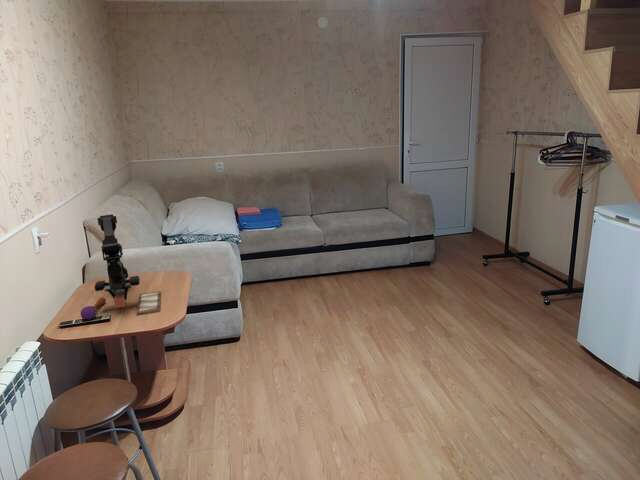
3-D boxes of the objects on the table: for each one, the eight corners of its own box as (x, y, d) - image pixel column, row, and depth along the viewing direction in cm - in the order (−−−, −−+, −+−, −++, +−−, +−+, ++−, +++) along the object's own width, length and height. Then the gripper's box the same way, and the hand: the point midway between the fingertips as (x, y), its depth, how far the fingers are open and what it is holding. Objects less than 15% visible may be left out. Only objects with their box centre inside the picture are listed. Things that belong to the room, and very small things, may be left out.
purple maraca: (109, 295, 223) (92, 309, 204) (108, 307, 224) (92, 322, 205) (96, 294, 223) (78, 308, 203) (95, 305, 224) (78, 321, 204)
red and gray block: (117, 298, 221) (116, 290, 220) (126, 297, 222) (125, 288, 221) (115, 307, 211) (113, 298, 210) (124, 306, 212) (123, 297, 211)
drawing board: (139, 296, 230) (139, 293, 230) (160, 292, 233) (160, 290, 233) (136, 315, 208) (136, 313, 208) (160, 311, 211) (159, 309, 211)
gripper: (89, 277, 202) (96, 310, 206) (135, 271, 207) (141, 303, 211) (93, 269, 212) (100, 301, 216) (137, 263, 217) (142, 294, 222)
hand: (120, 300), depth 216 cm, fingers closed on red and gray block, 4 cm apart
